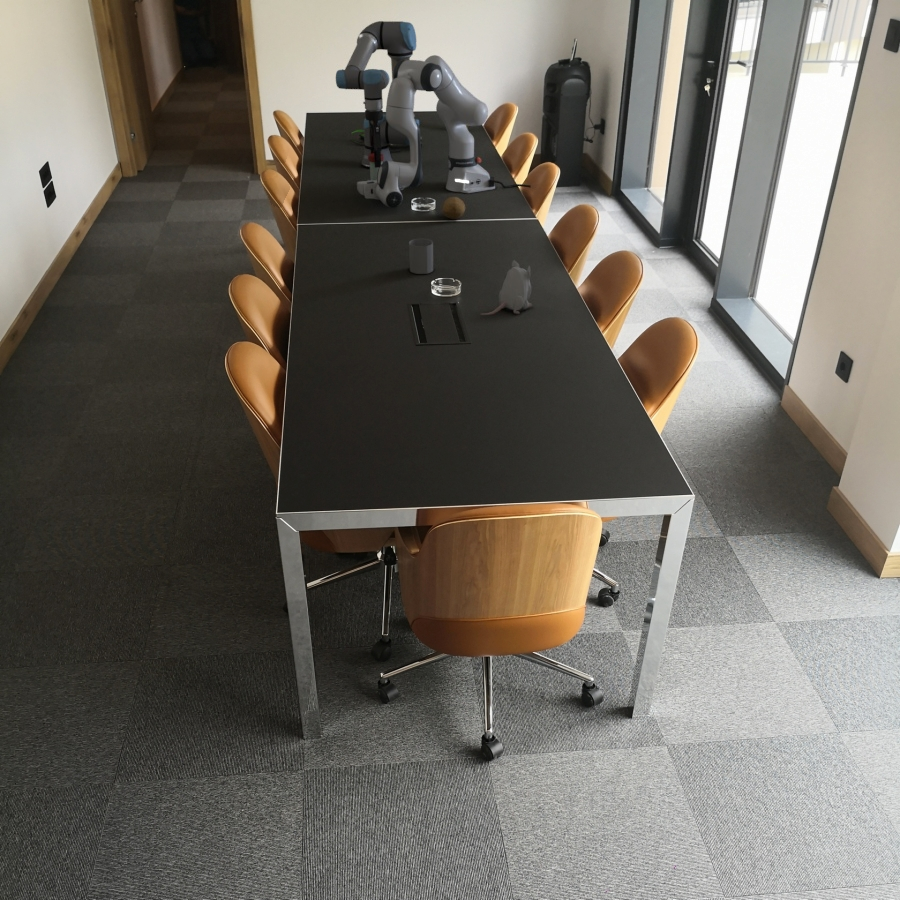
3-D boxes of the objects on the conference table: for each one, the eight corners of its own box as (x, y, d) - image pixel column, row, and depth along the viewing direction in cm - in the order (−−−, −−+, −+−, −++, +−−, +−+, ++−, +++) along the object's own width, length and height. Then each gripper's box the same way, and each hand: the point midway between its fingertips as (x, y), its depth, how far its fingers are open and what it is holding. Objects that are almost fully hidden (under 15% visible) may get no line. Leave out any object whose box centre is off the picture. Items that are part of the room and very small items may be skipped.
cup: (409, 265, 311) (408, 238, 306) (432, 265, 312) (431, 238, 307) (410, 274, 304) (409, 246, 299) (433, 273, 305) (433, 246, 299)
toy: (538, 306, 281) (541, 262, 273) (491, 329, 266) (492, 282, 258) (517, 299, 286) (519, 255, 278) (469, 320, 271) (470, 275, 263)
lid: (383, 162, 373) (383, 156, 372) (368, 162, 373) (368, 156, 372) (383, 158, 379) (382, 152, 377) (368, 158, 378) (368, 153, 377)
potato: (463, 212, 364) (464, 193, 359) (466, 223, 352) (466, 203, 348) (440, 212, 363) (440, 193, 359) (442, 223, 351) (442, 204, 347)
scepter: (406, 126, 467) (350, 124, 465) (406, 141, 460) (349, 139, 458) (405, 136, 472) (350, 133, 470) (405, 151, 465) (349, 149, 463)
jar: (384, 194, 386) (382, 155, 377) (383, 197, 382) (381, 158, 373) (371, 194, 387) (370, 155, 377) (370, 197, 382) (368, 158, 373)
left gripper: (361, 105, 372) (363, 159, 385) (369, 115, 355) (371, 171, 367) (378, 104, 374) (380, 158, 386) (387, 114, 357) (389, 170, 369)
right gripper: (407, 179, 371) (398, 171, 382) (361, 184, 366) (353, 175, 377) (408, 194, 375) (399, 186, 386) (361, 198, 369) (354, 190, 380)
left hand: (376, 164), depth 377 cm, fingers open, 8 cm apart
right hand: (376, 180), depth 381 cm, fingers closed on jar, 5 cm apart
